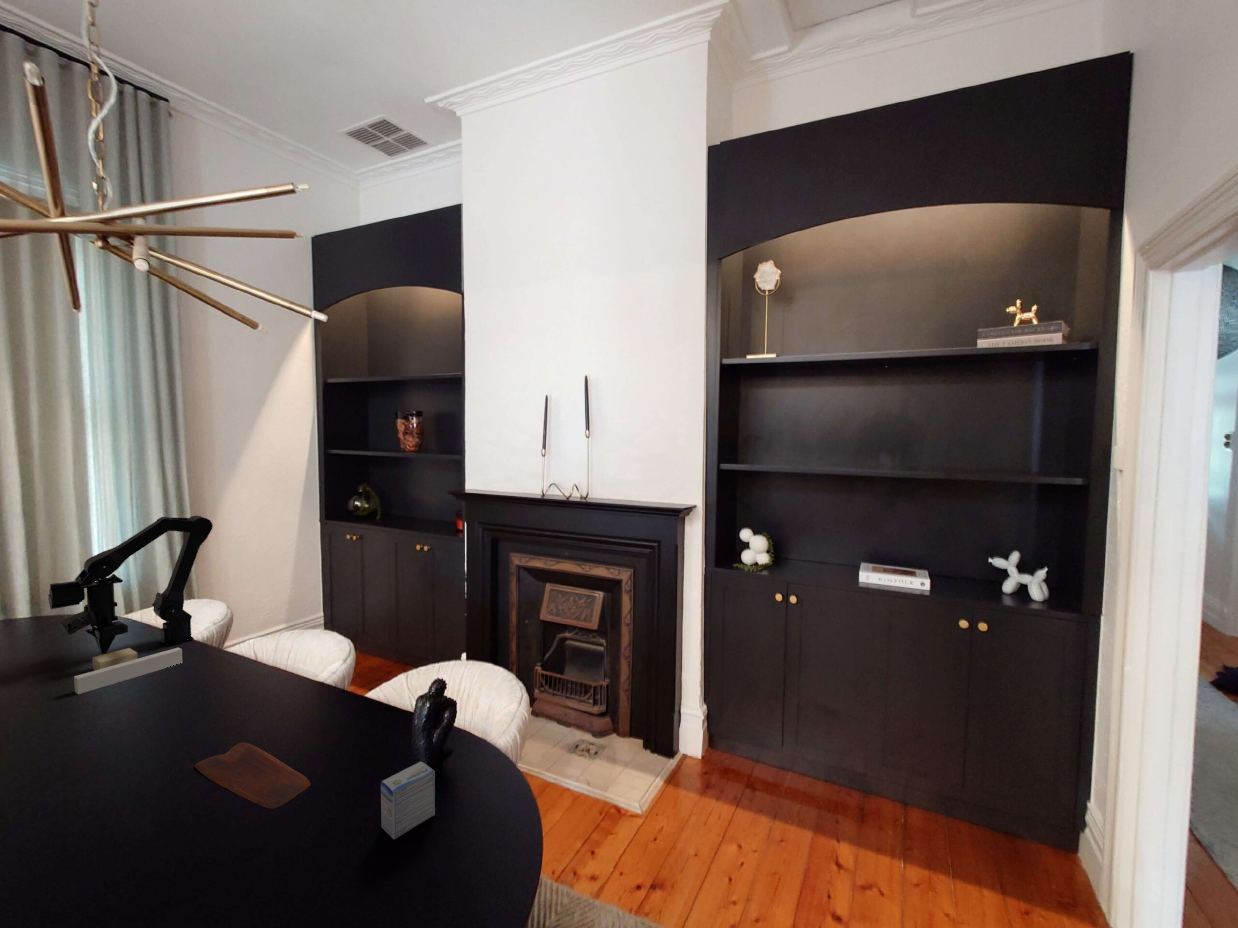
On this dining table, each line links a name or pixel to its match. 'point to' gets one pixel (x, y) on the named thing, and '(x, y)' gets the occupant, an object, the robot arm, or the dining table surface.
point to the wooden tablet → (254, 775)
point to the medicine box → (407, 799)
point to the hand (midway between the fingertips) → (103, 653)
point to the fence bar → (126, 670)
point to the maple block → (114, 658)
